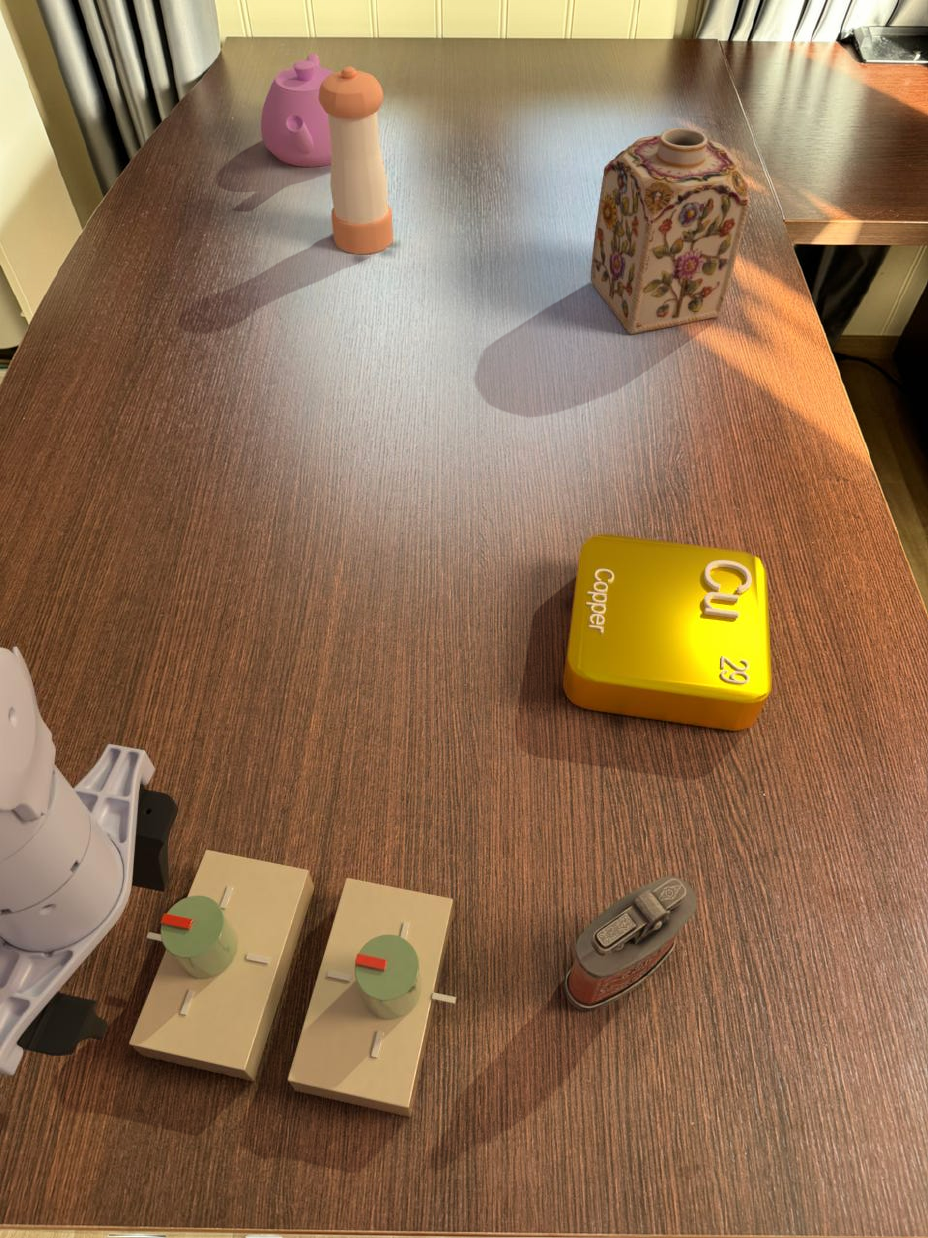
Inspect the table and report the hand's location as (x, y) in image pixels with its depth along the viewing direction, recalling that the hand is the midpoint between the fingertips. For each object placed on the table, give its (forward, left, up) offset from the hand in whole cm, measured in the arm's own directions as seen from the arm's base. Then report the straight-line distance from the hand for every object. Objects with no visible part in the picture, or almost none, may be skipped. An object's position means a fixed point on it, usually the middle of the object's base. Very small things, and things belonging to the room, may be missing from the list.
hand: (119, 952), depth 47 cm
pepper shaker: (+89, +12, -11) cm, 90 cm away
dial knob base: (+3, -12, -10) cm, 17 cm away
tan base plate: (+3, -3, -10) cm, 11 cm away
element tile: (+34, -28, -11) cm, 45 cm away
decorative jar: (+83, -24, -11) cm, 87 cm away
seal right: (+3, -14, -7) cm, 16 cm away
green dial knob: (+3, -2, -7) cm, 8 cm away
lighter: (+8, -27, -11) cm, 30 cm away
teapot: (+110, +25, -11) cm, 113 cm away
